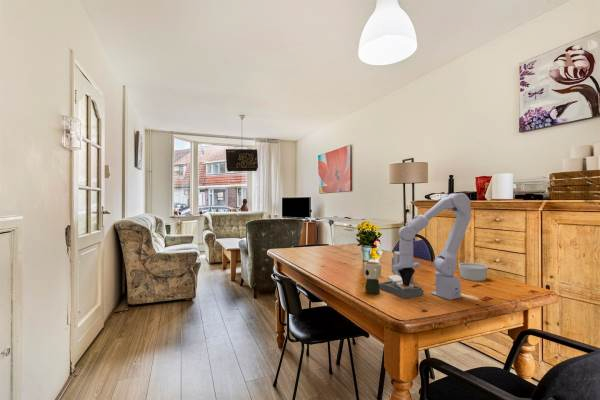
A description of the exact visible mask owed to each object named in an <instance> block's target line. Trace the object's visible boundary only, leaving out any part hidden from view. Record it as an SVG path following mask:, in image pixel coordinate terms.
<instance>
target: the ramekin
mask: <svg viewBox="0 0 600 400" xmlns="http://www.w3.org/2000/svg"><path fill="white" fill-rule="evenodd" d="M458 269H459V275H460V277H461V279H463V280H467V281H473V282H484V281H485V280H486V279H487V275H488V270H489V267H488V266H487V265H485V264H483V263H482V264H481V263H477V262H475V263H474V262H460V263H459V264H458Z"/></svg>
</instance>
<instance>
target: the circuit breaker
mask: <svg viewBox="0 0 600 400" xmlns="http://www.w3.org/2000/svg"><path fill="white" fill-rule="evenodd" d="M398 263H399V250H398V251H397V250H394V251H393V256H392V257H391V266H392V265H396V264H398ZM412 269H414V268H412ZM391 272H392V274H393V275H399V276H400V277H401V275H400V273H399V271H398V270H397V271H395V270H392V269H391ZM414 278H415V277H414V274H413V275H412V278H411V281H410V284H411V285H414V284H413V283H414Z"/></svg>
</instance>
